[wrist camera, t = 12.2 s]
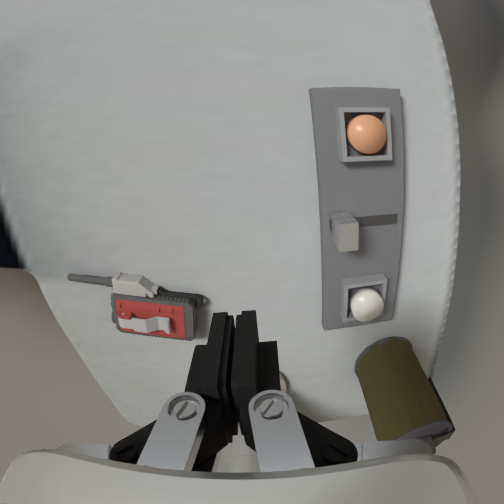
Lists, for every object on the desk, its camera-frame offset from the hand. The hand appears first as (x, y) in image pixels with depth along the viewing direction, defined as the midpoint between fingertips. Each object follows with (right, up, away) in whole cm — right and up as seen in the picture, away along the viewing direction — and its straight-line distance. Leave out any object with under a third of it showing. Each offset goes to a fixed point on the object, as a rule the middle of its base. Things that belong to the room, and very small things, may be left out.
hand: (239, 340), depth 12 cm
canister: (+22, -14, +33) cm, 42 cm away
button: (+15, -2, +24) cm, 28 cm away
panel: (+13, +8, +22) cm, 27 cm away
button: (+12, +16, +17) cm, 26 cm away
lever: (+10, +7, +21) cm, 24 cm away
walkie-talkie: (-16, -3, +28) cm, 33 cm away
